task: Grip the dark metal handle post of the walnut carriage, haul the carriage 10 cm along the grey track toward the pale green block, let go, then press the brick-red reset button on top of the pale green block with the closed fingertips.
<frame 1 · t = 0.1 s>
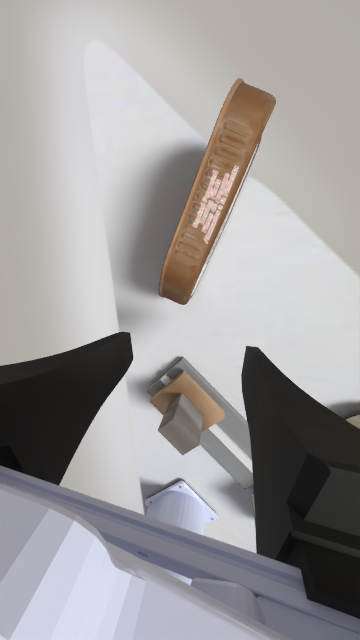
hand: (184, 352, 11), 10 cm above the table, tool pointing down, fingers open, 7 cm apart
carriage: (183, 418, 20), point 4 cm above the table, slide at 0.0 cm
track: (215, 423, 24), on the table
tin: (212, 231, 19), on the table
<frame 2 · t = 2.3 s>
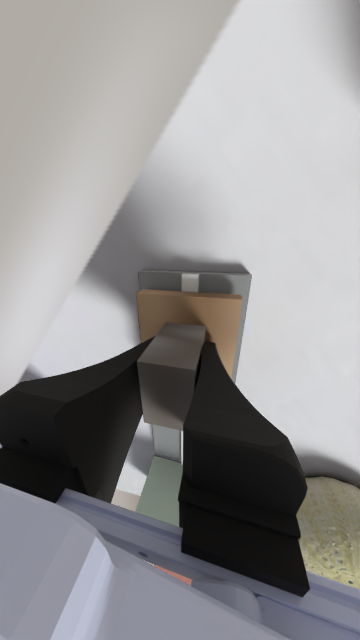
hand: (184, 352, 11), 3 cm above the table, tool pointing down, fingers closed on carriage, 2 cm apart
carriage: (179, 364, 10), point 4 cm above the table, slide at 0.0 cm, touching gripper
track: (190, 384, 15), on the table
pale green block: (187, 479, 21), on the table
sea urchin shell: (319, 495, 18), on the table
reset button: (176, 551, 16), point 6 cm above the table, slide at 0.0 cm
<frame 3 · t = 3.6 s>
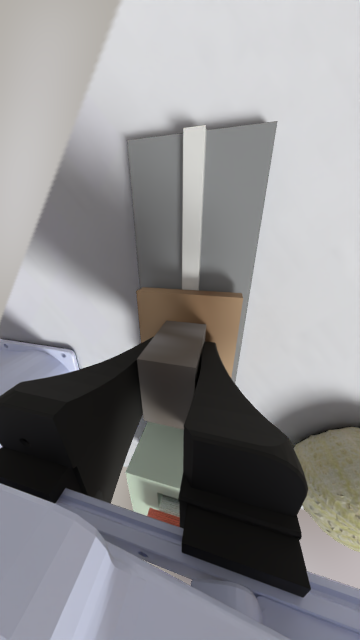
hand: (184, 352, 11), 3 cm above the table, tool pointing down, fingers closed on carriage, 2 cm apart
carriage: (179, 362, 10), point 4 cm above the table, slide at 6.4 cm, touching gripper
track: (192, 314, 13), on the table
pale green block: (188, 444, 19), on the table
sea urchin shell: (342, 454, 15), on the table
reset button: (174, 516, 14), point 6 cm above the table, slide at 0.0 cm
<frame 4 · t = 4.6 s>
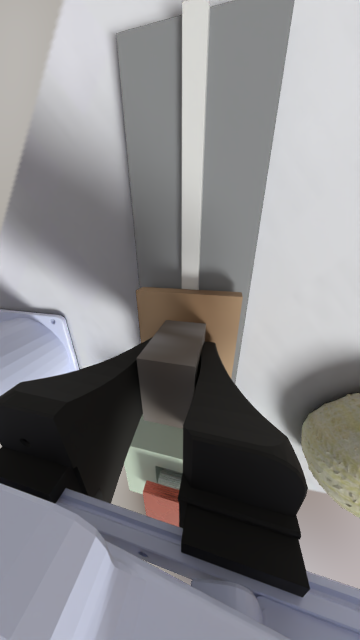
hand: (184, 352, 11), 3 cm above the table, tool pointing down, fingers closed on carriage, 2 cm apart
carriage: (179, 362, 10), point 4 cm above the table, slide at 9.9 cm, touching gripper
track: (193, 263, 11), on the table
pale green block: (189, 421, 17), on the table
reset button: (174, 492, 12), point 6 cm above the table, slide at 0.0 cm
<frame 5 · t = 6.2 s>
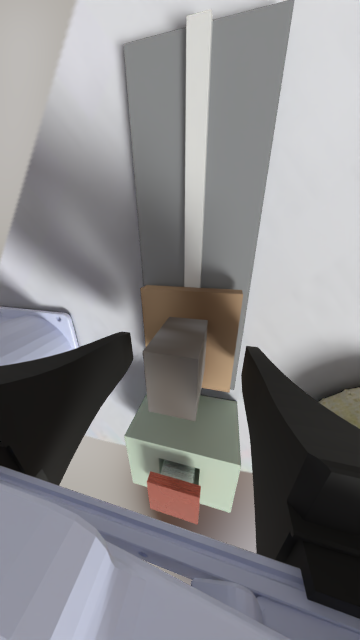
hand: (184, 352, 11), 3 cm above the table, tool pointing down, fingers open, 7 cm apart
carriage: (182, 356, 10), point 4 cm above the table, slide at 9.9 cm
track: (195, 262, 12), on the table
pale green block: (190, 416, 18), on the table
sea urchin shell: (357, 420, 14), on the table
reset button: (177, 483, 13), point 5 cm above the table, slide at 0.0 cm
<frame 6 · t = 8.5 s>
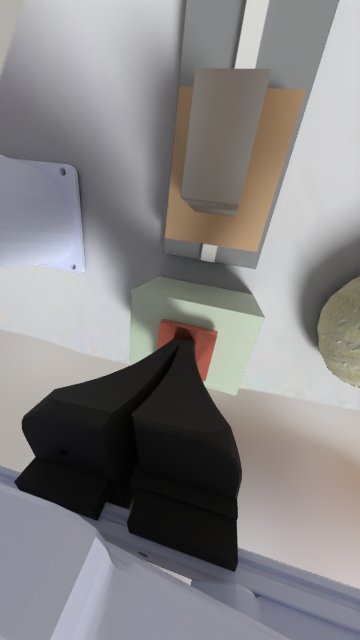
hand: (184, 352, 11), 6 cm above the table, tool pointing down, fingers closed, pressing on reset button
carriage: (221, 167, 9), point 4 cm above the table, slide at 9.9 cm
track: (242, 85, 10), on the table
pale green block: (197, 317, 16), on the table
reset button: (187, 344, 12), point 5 cm above the table, slide at 0.7 cm, touching gripper
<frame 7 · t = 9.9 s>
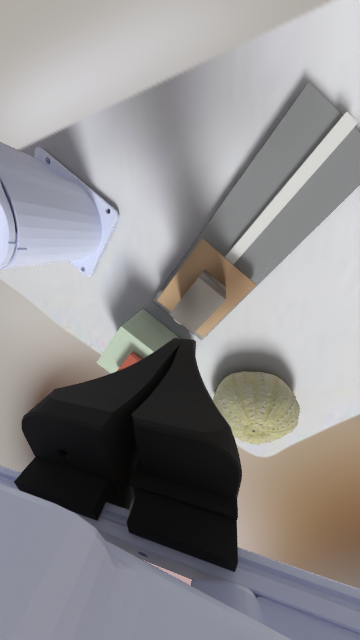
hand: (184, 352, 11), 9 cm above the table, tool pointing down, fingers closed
carriage: (200, 297, 15), point 4 cm above the table, slide at 9.9 cm
track: (239, 247, 16), on the table
pale green block: (156, 344, 23), on the table
sea urchin shell: (250, 392, 23), on the table
reset button: (140, 368, 19), point 5 cm above the table, slide at 0.7 cm
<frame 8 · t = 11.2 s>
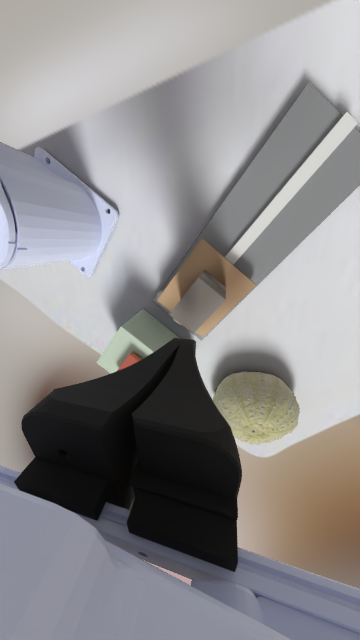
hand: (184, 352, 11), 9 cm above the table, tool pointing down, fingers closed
carriage: (200, 297, 15), point 4 cm above the table, slide at 9.9 cm
track: (239, 247, 16), on the table
pale green block: (156, 344, 23), on the table
sea urchin shell: (249, 393, 23), on the table
reset button: (140, 368, 19), point 5 cm above the table, slide at 0.7 cm
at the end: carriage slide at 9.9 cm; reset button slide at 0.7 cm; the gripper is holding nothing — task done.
